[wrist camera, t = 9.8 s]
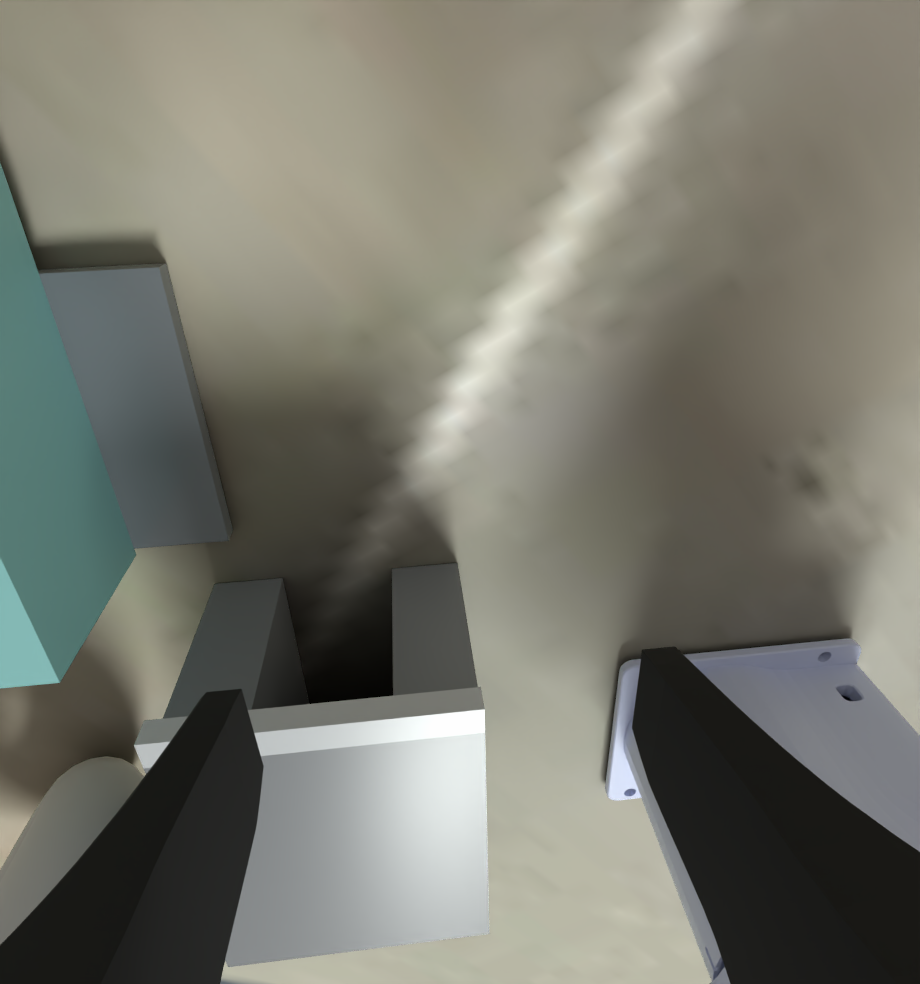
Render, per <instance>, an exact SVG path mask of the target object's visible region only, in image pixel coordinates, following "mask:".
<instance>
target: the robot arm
mask: <svg viewBox="0 0 920 984" xmlns="http://www.w3.org/2000/svg"><path fill="white" fill-rule="evenodd" d="M860 653H861V647H860V646H859V645H858V643H857V642H856V641H855V640H853V639H837V640H827V641H816V642H806V643H796V644H786V645H776V646H766V647H756V648H746V649H736V650H725V651H715V652H705V653H695V654H685V655H683V654H682V653H681V652H680V651H679V650H678V649H677V648H676V647H666V648H656V649H645V650H642V655H641V659H634V660H629V661H627V662H625V663H624V664H623V665H622V666H621V668H620V670H619V678H618V686H617V694H616V702H615V711H614V719H613V727H612V735H611V743H610V752H609V760H608V768H607V776H606V784H605V790H606V793H607V796H608V798H609V799H612V800H626V799H634V798H642V800H643V803H644V806H645V808H646V811H647V813H648V816H649V819H650V821H651V824H652V827H653V829H654V832H655V834H656V837H657V840H658V842H659V845H660V847H661V850H662V853H663V855H664V858H665V860H666V863H667V866H668V868H669V871H670V874H671V876H672V879H673V881H674V884H675V887H676V889H677V892H678V894H679V897H680V900H681V902H682V905H683V908H684V910H685V913H686V915H687V918H688V921H689V923H690V926H691V928H692V931H693V934H694V936H695V939H696V941H697V944H698V947H699V949H700V952H701V955H702V957H703V960H704V962H705V965H706V968H707V970H708V973H709V975H710V978H711V981H712V982H711V983H710V984H920V735H919V734H918V733H917V732H916V731H915V730H914V729H913V727H912V726H911V725H910V724H909V723H908V722H907V721H906V719H905V718H904V717H903V716H902V715H901V714H900V713H899V712H898V710H897V709H896V708H895V707H894V706H893V705H892V704H891V703H890V701H889V700H888V699H887V698H886V697H885V696H884V695H883V693H882V692H881V691H880V690H879V689H878V688H877V687H876V686H875V684H874V683H873V682H872V681H871V680H870V679H869V678H868V677H867V675H866V674H865V673H864V672H863V671H862V670H861V669H860V667H859V666H858V665H857V661H858V659H859V656H860ZM263 768H264V765H263V762H262V758H261V755H260V751H259V748H258V744H257V741H256V737H255V734H254V730H253V727H252V723H251V720H250V716H249V713H248V710H247V706H246V703H245V699H244V696H243V692H242V689H233V690H223V691H212V692H206V693H205V694H204V695H203V696H202V697H201V699H200V700H199V701H198V703H197V704H196V706H195V707H194V708H193V710H192V711H191V713H190V714H189V716H188V717H187V718H186V720H185V721H184V723H183V724H182V726H181V727H180V728H179V730H178V731H177V733H176V734H175V736H174V737H173V738H172V740H171V741H170V743H169V744H168V745H167V747H166V748H165V749H164V751H163V752H162V754H161V755H160V756H159V758H158V759H157V760H156V762H155V763H154V765H153V766H152V767H151V769H150V770H149V771H148V773H147V774H146V775H145V777H144V778H143V779H142V780H141V782H140V783H139V784H138V786H137V787H136V788H135V790H134V791H133V792H132V794H131V795H130V796H129V798H128V799H127V800H126V802H125V803H124V804H123V805H122V807H121V808H120V809H119V811H118V812H117V813H116V814H115V816H114V817H113V818H112V819H111V821H110V822H109V823H108V824H107V825H106V827H105V828H104V829H103V830H102V831H101V833H100V834H99V835H98V836H97V838H96V839H95V840H94V841H93V842H92V844H91V845H90V846H89V847H88V848H87V850H86V851H85V852H84V853H83V855H82V856H81V857H80V858H79V859H78V861H77V862H76V863H75V864H74V865H73V866H72V868H71V869H70V870H69V871H68V872H67V873H66V874H65V876H64V877H63V878H62V879H61V880H60V881H59V882H58V884H57V885H56V886H55V887H54V888H53V889H52V890H51V891H50V892H49V894H48V895H47V896H46V897H45V898H44V899H43V900H42V901H41V902H40V903H39V904H38V906H37V907H36V908H35V909H34V910H33V911H32V912H31V913H30V914H29V915H28V916H27V917H26V918H25V920H24V921H23V922H22V923H21V924H20V925H19V926H18V927H17V928H16V929H15V930H14V931H13V932H12V933H11V934H10V935H9V936H8V937H7V938H6V939H5V940H4V941H3V942H2V943H1V944H0V984H220V981H221V976H222V971H223V966H224V962H225V958H226V954H227V950H228V945H229V941H230V937H231V933H232V929H233V925H234V920H235V916H236V912H237V908H238V904H239V899H240V895H241V891H242V887H243V883H244V878H245V874H246V870H247V866H248V861H249V857H250V853H251V848H252V844H253V840H254V835H255V831H256V826H257V819H258V811H259V804H260V795H261V786H262V777H263Z"/></svg>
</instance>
